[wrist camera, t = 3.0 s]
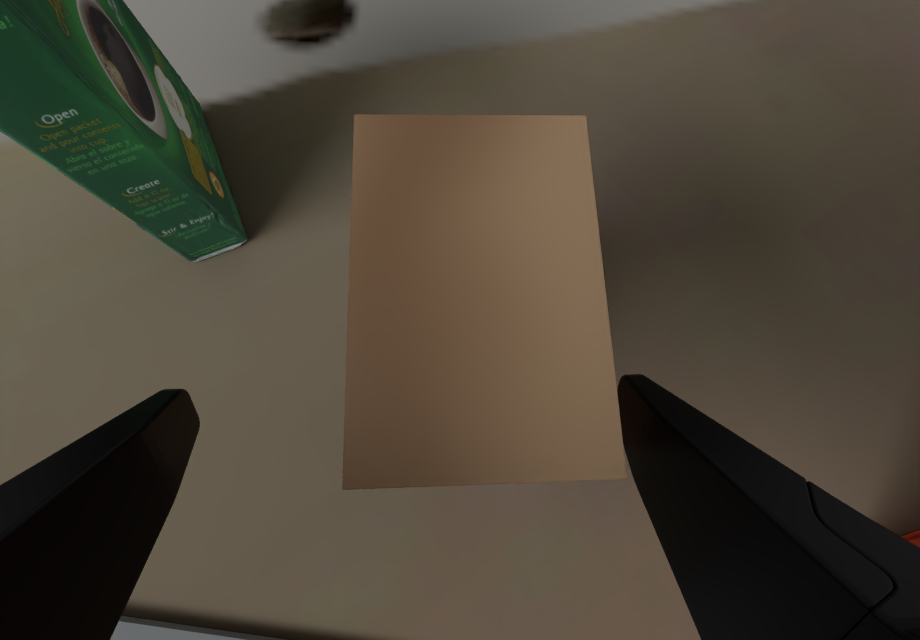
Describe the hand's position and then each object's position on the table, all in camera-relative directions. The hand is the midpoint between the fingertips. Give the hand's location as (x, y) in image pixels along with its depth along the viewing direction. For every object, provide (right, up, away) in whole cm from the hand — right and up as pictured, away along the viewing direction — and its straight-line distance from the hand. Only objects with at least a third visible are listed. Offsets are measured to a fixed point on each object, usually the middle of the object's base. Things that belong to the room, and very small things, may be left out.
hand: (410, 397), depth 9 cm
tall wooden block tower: (+1, -1, +9) cm, 9 cm away
